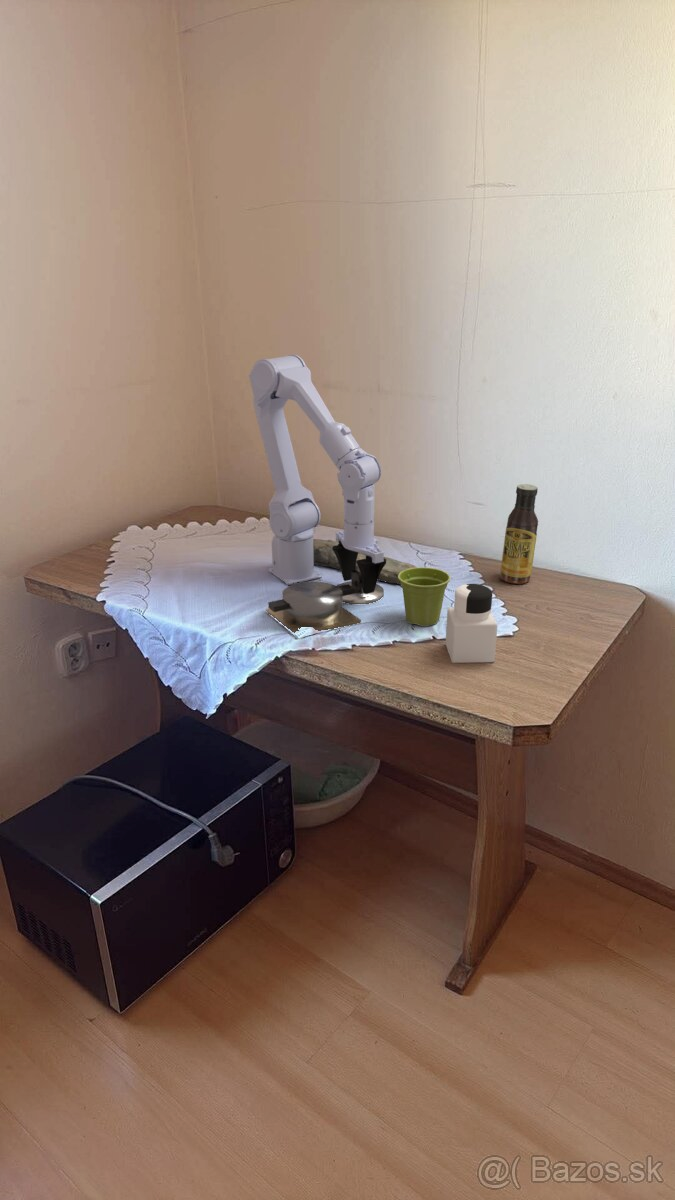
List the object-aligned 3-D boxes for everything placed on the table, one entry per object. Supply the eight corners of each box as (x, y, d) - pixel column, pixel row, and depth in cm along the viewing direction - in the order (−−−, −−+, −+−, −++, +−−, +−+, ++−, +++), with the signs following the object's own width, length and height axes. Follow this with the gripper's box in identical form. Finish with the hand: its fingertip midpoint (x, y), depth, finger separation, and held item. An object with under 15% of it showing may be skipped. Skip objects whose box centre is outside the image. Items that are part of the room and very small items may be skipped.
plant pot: (388, 613, 150) (389, 570, 147) (433, 606, 153) (435, 564, 150) (410, 634, 142) (411, 589, 139) (457, 626, 145) (459, 581, 142)
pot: (256, 614, 150) (255, 589, 148) (334, 596, 158) (334, 572, 156) (288, 641, 140) (287, 615, 138) (369, 620, 147) (370, 595, 145)
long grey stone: (407, 599, 160) (432, 586, 168) (410, 575, 158) (435, 563, 166) (274, 554, 179) (302, 544, 186) (275, 532, 177) (303, 522, 184)
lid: (324, 592, 161) (323, 568, 158) (366, 582, 165) (366, 559, 163) (349, 610, 153) (349, 585, 150) (393, 599, 157) (394, 574, 155)
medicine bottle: (486, 643, 139) (491, 579, 134) (494, 663, 132) (500, 596, 128) (445, 644, 139) (448, 580, 134) (451, 663, 132) (455, 597, 127)
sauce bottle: (496, 582, 164) (503, 488, 156) (505, 572, 169) (512, 480, 161) (527, 587, 162) (537, 492, 154) (535, 577, 167) (545, 484, 159)
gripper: (397, 526, 149) (396, 594, 154) (357, 507, 160) (356, 570, 166) (365, 533, 145) (364, 601, 151) (326, 512, 157) (327, 576, 162)
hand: (358, 585), depth 158 cm, fingers open, 7 cm apart
